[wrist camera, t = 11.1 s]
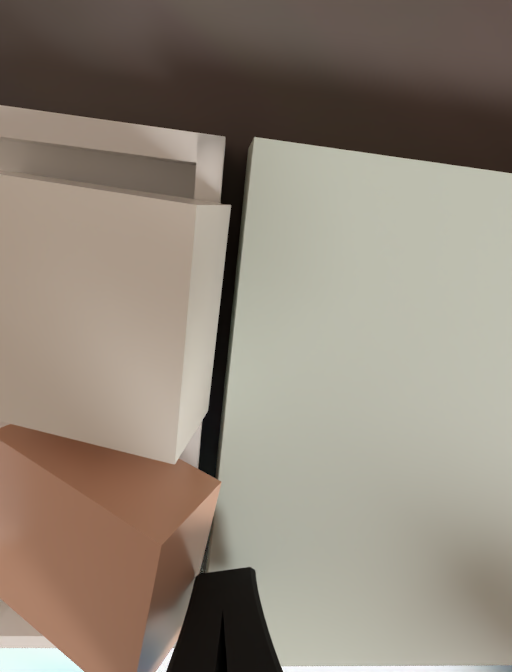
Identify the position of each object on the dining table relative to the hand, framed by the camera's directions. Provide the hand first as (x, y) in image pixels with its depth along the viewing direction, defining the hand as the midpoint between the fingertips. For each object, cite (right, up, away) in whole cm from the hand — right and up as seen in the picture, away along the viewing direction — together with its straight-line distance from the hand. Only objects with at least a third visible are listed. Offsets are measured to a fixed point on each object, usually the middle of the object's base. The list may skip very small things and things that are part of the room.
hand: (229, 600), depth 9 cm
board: (+7, +3, +2) cm, 8 cm away
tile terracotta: (-3, +2, +1) cm, 3 cm away
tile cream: (-2, +7, -1) cm, 7 cm away
